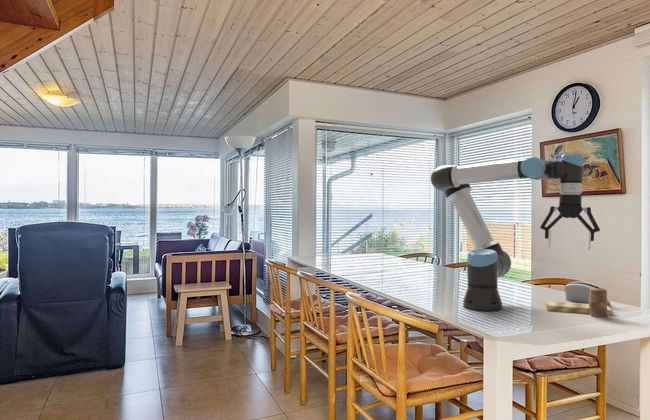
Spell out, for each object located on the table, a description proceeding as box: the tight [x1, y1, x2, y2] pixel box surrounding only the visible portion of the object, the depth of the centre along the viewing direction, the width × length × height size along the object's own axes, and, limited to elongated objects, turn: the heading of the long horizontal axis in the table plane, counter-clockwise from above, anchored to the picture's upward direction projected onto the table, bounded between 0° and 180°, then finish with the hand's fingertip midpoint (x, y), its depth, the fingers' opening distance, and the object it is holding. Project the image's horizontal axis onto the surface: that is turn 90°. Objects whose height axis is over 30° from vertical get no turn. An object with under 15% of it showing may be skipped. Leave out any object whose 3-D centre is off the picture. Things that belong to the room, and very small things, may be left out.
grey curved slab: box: [564, 281, 611, 306], centre depth 185 cm, size 17×5×10 cm, turn 28°
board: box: [544, 300, 613, 316], centre depth 170 cm, size 22×9×2 cm, turn 67°
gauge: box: [587, 288, 608, 318], centre depth 167 cm, size 5×15×10 cm, turn 157°
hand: (568, 248), depth 168 cm, fingers open, 13 cm apart
